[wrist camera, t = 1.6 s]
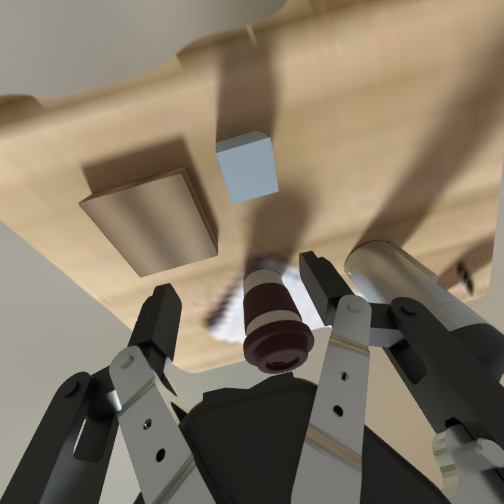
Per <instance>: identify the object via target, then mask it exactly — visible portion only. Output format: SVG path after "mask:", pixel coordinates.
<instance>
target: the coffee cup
mask: <svg viewBox="0 0 504 504" xmlns="http://www.w3.org/2000/svg"><path fill="white" fill-rule="evenodd" d="M243 288H244V300H243V308H244V325H245V334H246V336H247V337H246V339H245V341H244V344H243V349H244V356H245V359H246V360H247V361H248V362H249V363H250V364H252V365H254V366H257V367H258V368H259V369H260V370H261V371H262V372H265V373H269V374H278V373H284V372H288V371H291V370H293V369H296V368H297V367H299V366H301V365H302V364H303V363H304V362H305V361H306V359H307V357H308V352H310V350H311V349H312V348H313V345H314V337H313V335H312V332H311V330H310V328H309V327H308V326H307V325H306V324H304V323H302V318H301V315H300V313H299V311H298V309H297V307H296V305H295V303H294V301H293V299H292V297H291V295H290V293H289V291H288V290H287V288H286V287H285V286H284V284H283V282H282V280H281V278H280V276H279V274H278V273H277V272H275V271H273V270H270V269H260V270H256V271H254V272H252V273H250V274H249V275H248V276H247V277H246V279H245V281H244V284H243Z"/></svg>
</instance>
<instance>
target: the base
mask: <svg viewBox="0 0 504 504" xmlns="http://www.w3.org/2000/svg"><path fill="white" fill-rule="evenodd" d="M78 204H79V205H80V207H81V208H82V209H83V210H84V211H85V212H86V214H87V215H88V216H89V217H90V218H91V220H92V221H93V222H94V223H95V224H96V226H97V227H98V228H99V229H100V230H101V231H102V233H103V234H104V235H105V236H106V237H107V239H108V240H109V241H110V242H111V243H112V244H113V246H114V247H115V248H116V249H117V250H118V252H119V253H120V254H121V255H122V256H123V258H124V259H125V260H126V261H127V262H128V263H129V265H130V266H131V267H132V268H133V269H134V271H135V272H136V273H137V274H138V275H139V277H144V276H147V275H151V274H154V273H158V272H161V271H165V270H169V269H172V268H176V267H179V266H183V265H186V264H190V263H193V262H197V261H200V260H204V259H207V258H211V257H214V256H218V244H217V241H216V239H215V236H214V234H213V232H212V229H211V227H210V225H209V222H208V220H207V218H206V215H205V213H204V211H203V208H202V206H201V204H200V201H199V199H198V197H197V194H196V192H195V190H194V187H193V185H192V183H191V180H190V178H189V176H188V173H187V171H186V169H185V167H182V168H178V169H175V170H171V171H168V172H165V173H161V174H158V175H155V176H151V177H148V178H144V179H141V180H138V181H134V182H131V183H128V184H124V185H121V186H117V187H114V188H111V189H107V190H104V191H100V192H97V193H94V194H91V195H90V196H88V197H87V198H85V199H84V200H82V201H81V202H79V203H78Z"/></svg>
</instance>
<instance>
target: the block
mask: <svg viewBox="0 0 504 504" xmlns="http://www.w3.org/2000/svg"><path fill="white" fill-rule="evenodd" d="M216 155H217V158H218V161H219V165H220V168H221V171H222V174H223V177H224V180H225V183H226V186H227V190H228V193H229V196H230V199H231V202H232V205H233V204H237V203H240V202H244V201H247V200H251V199H254V198H257V197H261V196H264V195H268V194H271V193H275V192H278V191H279V190H278V183H277V177H276V170H275V164H274V157H273V151H272V144H271V138H270V137H269V136H267V135H265V134H263V133H261V132H259V131H258V130H256V131H253V132H249V133H246V134H243V135H239V136H236V137H232V138H229V139H226V140H222V141H219V142H216Z"/></svg>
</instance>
